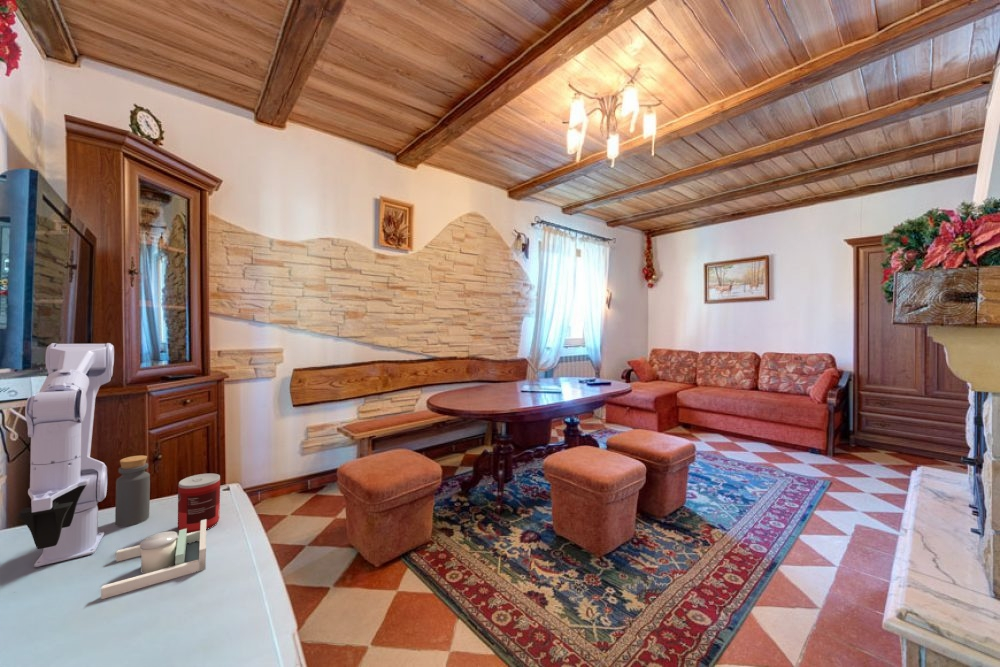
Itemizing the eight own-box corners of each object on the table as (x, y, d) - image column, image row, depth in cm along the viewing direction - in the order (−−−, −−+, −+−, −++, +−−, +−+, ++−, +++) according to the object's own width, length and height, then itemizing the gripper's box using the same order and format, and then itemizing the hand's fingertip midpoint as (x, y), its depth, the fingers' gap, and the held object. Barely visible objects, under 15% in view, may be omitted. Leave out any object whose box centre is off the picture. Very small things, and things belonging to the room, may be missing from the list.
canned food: (199, 516, 92) (200, 472, 92) (228, 519, 91) (228, 474, 91) (167, 532, 85) (168, 484, 85) (198, 536, 84) (199, 486, 84)
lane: (117, 559, 75) (117, 539, 75) (206, 537, 83) (206, 519, 83) (100, 599, 64) (101, 576, 64) (205, 569, 72) (205, 548, 72)
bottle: (127, 528, 86) (129, 463, 86) (108, 525, 88) (109, 461, 88) (155, 516, 92) (156, 455, 92) (137, 513, 93) (138, 453, 93)
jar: (141, 563, 74) (142, 537, 74) (177, 553, 77) (178, 528, 77) (137, 577, 69) (138, 549, 69) (176, 567, 73) (176, 540, 73)
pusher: (179, 545, 80) (179, 530, 80) (186, 543, 80) (186, 528, 80) (175, 572, 71) (175, 555, 71) (183, 570, 71) (183, 553, 71)
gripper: (78, 466, 62) (77, 548, 62) (99, 445, 74) (97, 514, 74) (11, 475, 58) (9, 563, 58) (44, 451, 70) (42, 524, 70)
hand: (54, 536), depth 66 cm, fingers open, 7 cm apart
